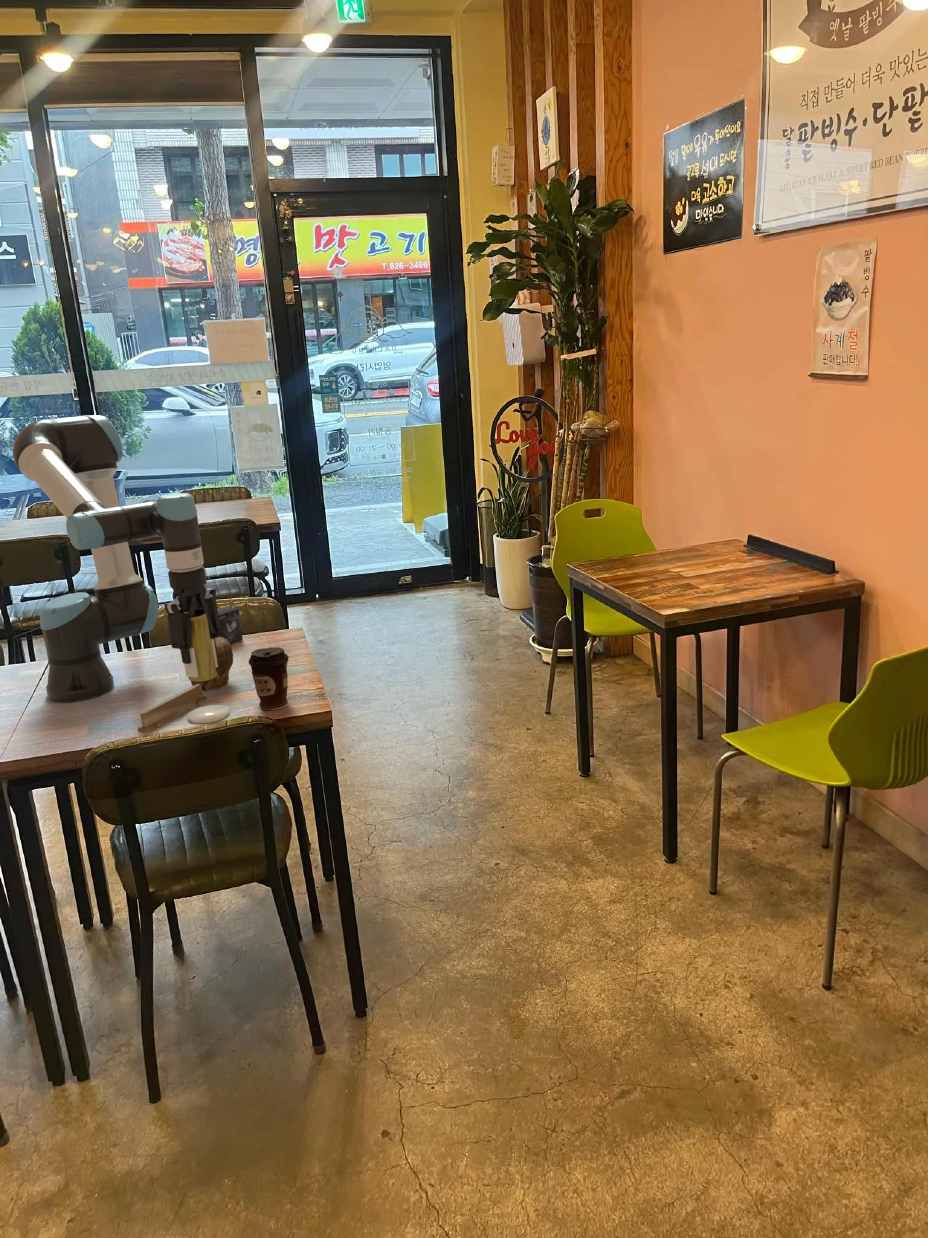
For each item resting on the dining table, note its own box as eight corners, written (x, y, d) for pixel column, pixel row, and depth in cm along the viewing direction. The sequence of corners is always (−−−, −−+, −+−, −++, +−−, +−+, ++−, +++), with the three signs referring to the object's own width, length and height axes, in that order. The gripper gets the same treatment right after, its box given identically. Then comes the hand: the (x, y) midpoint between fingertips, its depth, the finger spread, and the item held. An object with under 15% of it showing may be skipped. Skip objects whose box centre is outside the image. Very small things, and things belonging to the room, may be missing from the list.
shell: (224, 693, 210) (217, 645, 207) (182, 692, 213) (174, 645, 209) (244, 677, 220) (238, 631, 217) (203, 676, 223) (196, 630, 219)
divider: (138, 730, 192) (135, 713, 191) (198, 698, 208) (195, 682, 207) (148, 732, 191) (145, 715, 189) (208, 700, 207) (205, 683, 206)
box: (218, 650, 243) (213, 617, 240) (204, 647, 246) (199, 614, 243) (243, 640, 250) (239, 607, 247) (229, 638, 253) (225, 605, 250)
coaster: (178, 720, 196) (178, 718, 196) (206, 705, 204) (206, 703, 203) (211, 725, 192) (210, 723, 192) (238, 710, 200) (237, 707, 200)
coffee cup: (273, 716, 195) (266, 659, 192) (246, 709, 200) (238, 654, 196) (300, 702, 202) (294, 647, 198) (273, 696, 207) (267, 643, 203)
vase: (190, 684, 191) (180, 620, 187) (187, 675, 197) (177, 613, 193) (219, 678, 193) (210, 615, 189) (215, 670, 199) (205, 608, 195)
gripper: (168, 579, 178) (186, 688, 185) (229, 558, 195) (243, 659, 201) (140, 577, 182) (158, 684, 188) (202, 557, 198) (216, 656, 204)
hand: (202, 671), depth 195 cm, fingers closed on vase, 6 cm apart
